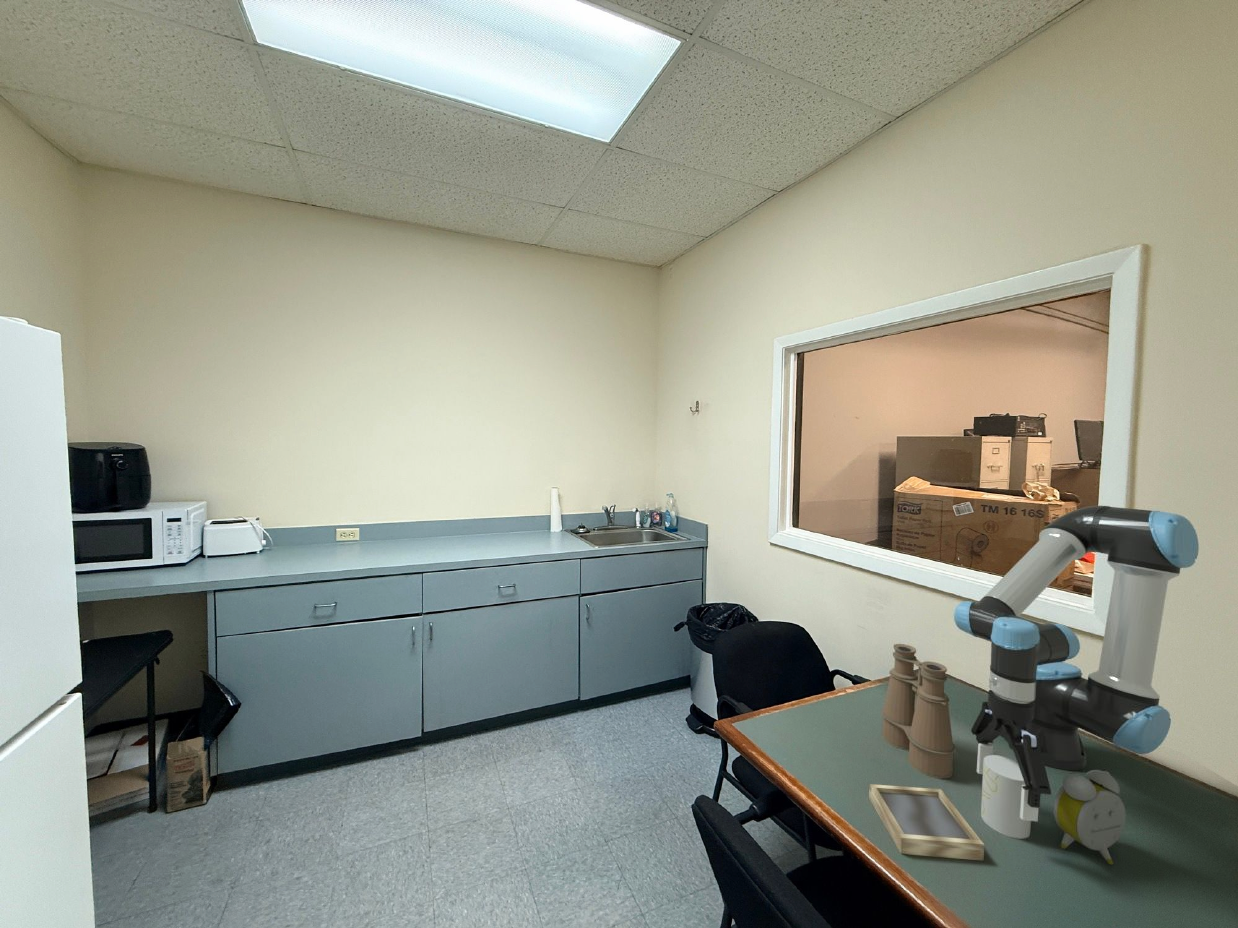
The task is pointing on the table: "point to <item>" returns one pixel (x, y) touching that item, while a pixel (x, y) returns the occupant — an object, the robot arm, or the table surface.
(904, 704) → the binoculars
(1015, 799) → the white cylinder
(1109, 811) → the alarm clock
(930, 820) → the square picture frame
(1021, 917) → the table surface
